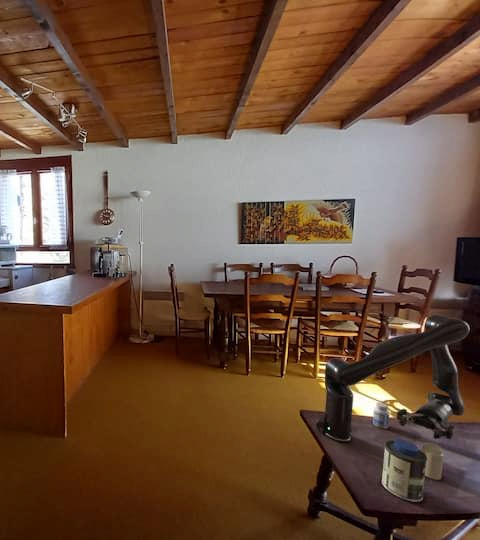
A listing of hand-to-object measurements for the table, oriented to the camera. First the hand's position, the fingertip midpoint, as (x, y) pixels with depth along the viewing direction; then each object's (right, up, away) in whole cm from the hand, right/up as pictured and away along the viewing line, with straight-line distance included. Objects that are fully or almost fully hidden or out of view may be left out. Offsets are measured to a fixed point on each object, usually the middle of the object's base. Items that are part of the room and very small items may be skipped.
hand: (417, 429), depth 106 cm
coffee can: (-9, -18, -4) cm, 21 cm away
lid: (-9, -3, -6) cm, 11 cm away
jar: (+7, -17, +3) cm, 19 cm away
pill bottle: (+14, -15, +31) cm, 37 cm away
